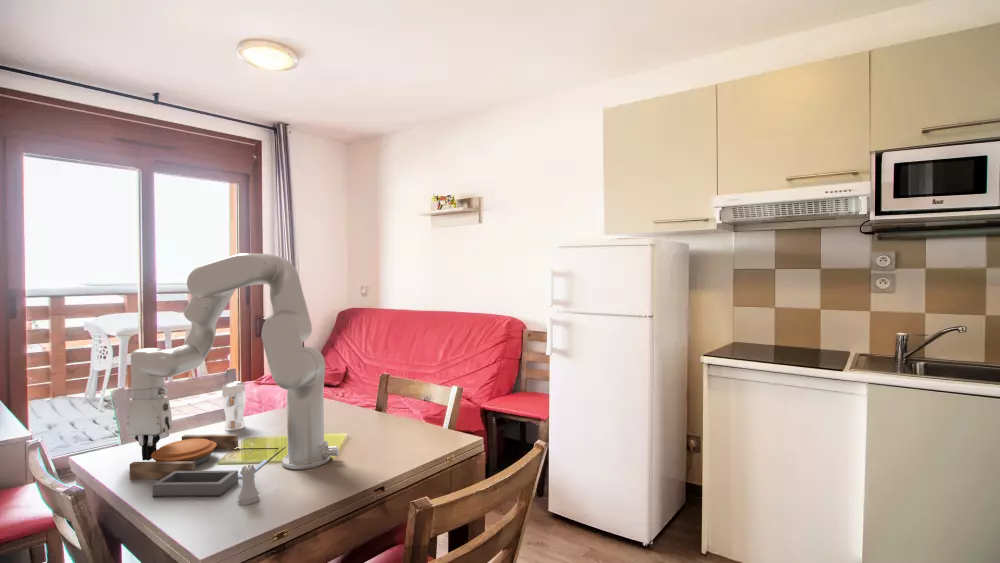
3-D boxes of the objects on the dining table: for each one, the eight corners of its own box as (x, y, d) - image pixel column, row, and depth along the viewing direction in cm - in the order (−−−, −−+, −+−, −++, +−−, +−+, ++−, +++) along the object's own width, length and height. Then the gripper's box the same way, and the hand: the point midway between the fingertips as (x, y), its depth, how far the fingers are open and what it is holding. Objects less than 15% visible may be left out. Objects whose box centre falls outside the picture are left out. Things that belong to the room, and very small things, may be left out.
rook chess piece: (242, 497, 118) (242, 463, 118) (262, 496, 119) (261, 462, 119) (234, 506, 114) (233, 471, 114) (255, 505, 114) (254, 470, 114)
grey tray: (238, 482, 127) (237, 470, 127) (220, 496, 119) (220, 484, 119) (174, 482, 127) (174, 471, 127) (152, 497, 119) (152, 484, 119)
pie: (168, 454, 147) (167, 437, 147) (225, 450, 150) (224, 433, 150) (139, 475, 132) (138, 456, 132) (203, 470, 134) (203, 452, 134)
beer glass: (218, 430, 169) (217, 385, 168) (236, 423, 175) (235, 380, 175) (233, 432, 166) (232, 387, 166) (251, 426, 172) (249, 382, 172)
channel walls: (238, 447, 152) (237, 434, 152) (192, 478, 129) (191, 463, 129) (185, 448, 152) (184, 434, 152) (130, 479, 129) (129, 464, 129)
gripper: (183, 389, 144) (184, 453, 144) (131, 389, 144) (132, 453, 144) (165, 396, 136) (167, 463, 137) (110, 396, 136) (112, 463, 137)
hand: (149, 458), depth 141 cm, fingers closed
